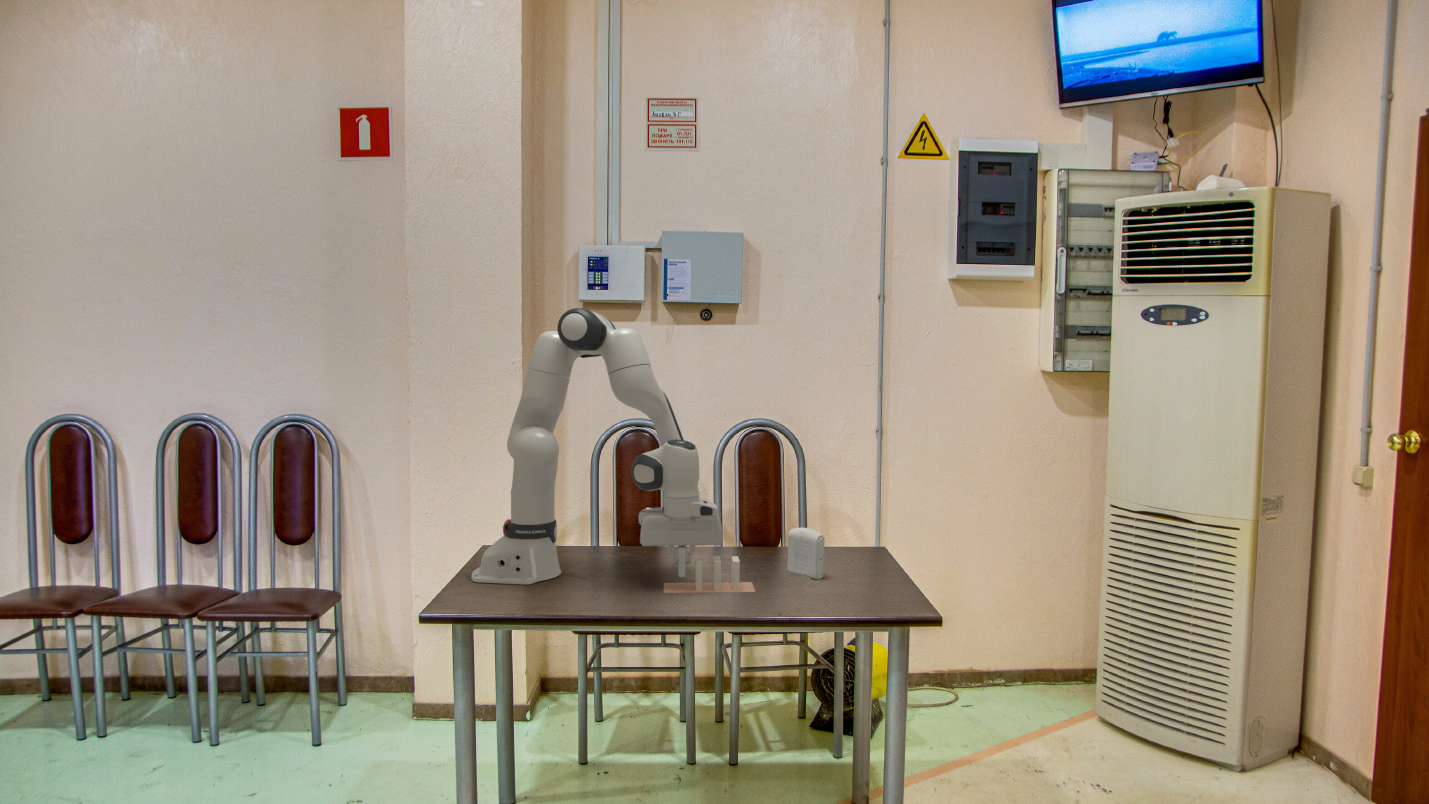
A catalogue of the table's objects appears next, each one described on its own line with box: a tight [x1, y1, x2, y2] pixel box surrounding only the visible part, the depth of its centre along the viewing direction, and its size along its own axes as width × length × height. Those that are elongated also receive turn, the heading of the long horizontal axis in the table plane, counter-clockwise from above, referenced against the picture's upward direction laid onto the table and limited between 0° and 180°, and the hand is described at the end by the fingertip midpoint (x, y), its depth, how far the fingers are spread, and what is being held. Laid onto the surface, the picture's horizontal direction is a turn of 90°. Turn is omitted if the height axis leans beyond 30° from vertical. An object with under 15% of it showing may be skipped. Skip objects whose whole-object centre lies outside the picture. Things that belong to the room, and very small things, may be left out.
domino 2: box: [694, 556, 704, 591], centre depth 191 cm, size 2×5×7 cm, turn 4°
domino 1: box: [677, 546, 686, 578], centre depth 191 cm, size 2×5×7 cm, turn 4°
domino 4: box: [730, 555, 741, 590], centre depth 192 cm, size 2×5×7 cm, turn 3°
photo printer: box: [787, 527, 826, 580], centre depth 205 cm, size 10×4×12 cm, turn 47°
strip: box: [663, 581, 756, 594], centre depth 192 cm, size 22×8×1 cm, turn 93°
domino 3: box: [712, 556, 722, 590], centre depth 192 cm, size 2×5×7 cm, turn 4°
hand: (681, 563), depth 191 cm, fingers closed on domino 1, 2 cm apart
